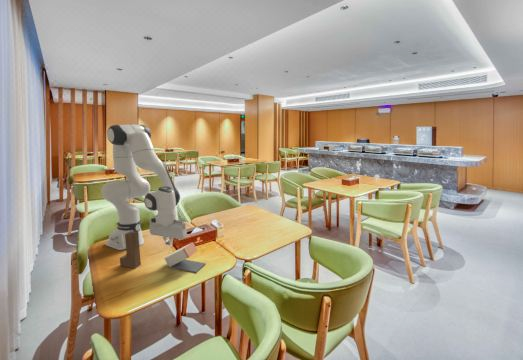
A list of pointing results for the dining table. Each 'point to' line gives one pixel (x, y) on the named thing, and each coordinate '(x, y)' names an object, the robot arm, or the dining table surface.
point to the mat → (188, 266)
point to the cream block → (181, 254)
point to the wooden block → (131, 251)
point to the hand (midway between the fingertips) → (168, 244)
